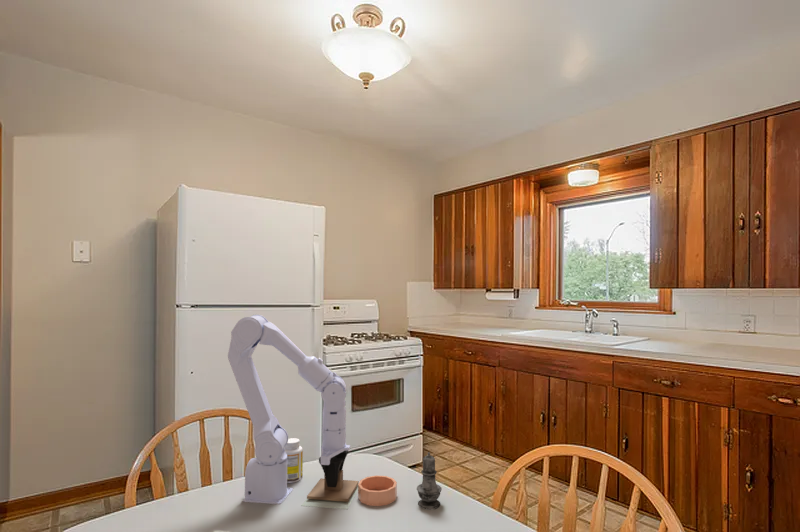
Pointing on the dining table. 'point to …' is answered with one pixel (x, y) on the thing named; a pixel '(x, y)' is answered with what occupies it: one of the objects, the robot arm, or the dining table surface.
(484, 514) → the dining table surface
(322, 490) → the walnut lid
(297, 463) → the supplement bottle
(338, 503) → the sage rubber mat
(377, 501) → the terracotta bowl
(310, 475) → the dining table surface
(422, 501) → the salt shaker
